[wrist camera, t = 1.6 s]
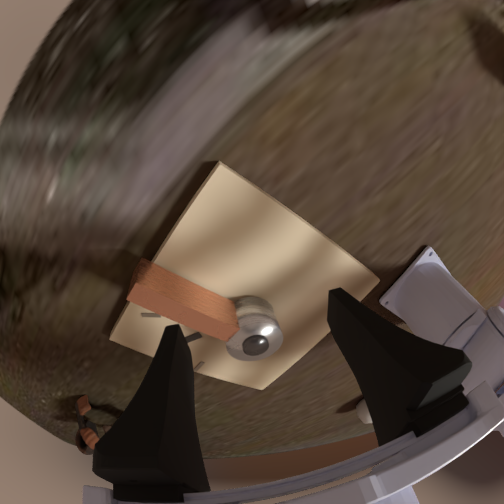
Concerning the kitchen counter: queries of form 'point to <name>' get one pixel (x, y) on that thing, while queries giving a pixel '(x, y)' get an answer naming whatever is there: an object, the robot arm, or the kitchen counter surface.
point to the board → (248, 276)
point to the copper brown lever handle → (208, 311)
